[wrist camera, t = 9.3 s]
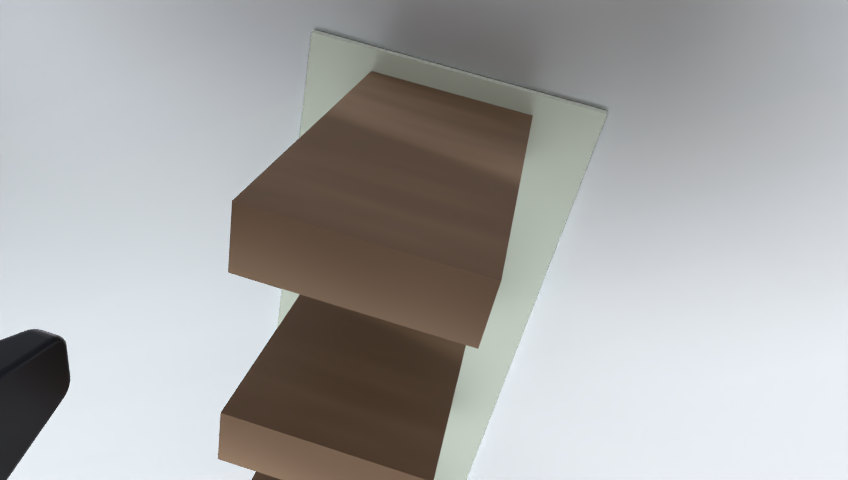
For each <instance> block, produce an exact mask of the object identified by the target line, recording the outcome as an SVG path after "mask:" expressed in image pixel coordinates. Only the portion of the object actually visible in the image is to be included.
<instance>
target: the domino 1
mask: <svg viewBox="0 0 848 480" xmlns="http://www.w3.org/2000/svg"><path fill="white" fill-rule="evenodd" d="M532 117H533V116H532V115H529V114H525V113H522V112H518V111H514V110H511V109H507V108H504V107H500V106H496V105H493V104H489V103H486V102H482V101H478V100H475V99H471V98H468V97H464V96H460V95H457V94H453V93H449V92H446V91H442V90H439V89H435V88H431V87H428V86H424V85H421V84H417V83H413V82H410V81H406V80H403V79H399V78H395V77H392V76H388V75H384V74H381V73H377V72H374V71H371V72H370V73H368V74H367V75H366V76H365V77H364V78H363V79H362V80H361V81H360V82H359V83H358V84H357V85H356V86H355V87H354V88H352V89H351V90H350V91H349V92H348V93H347V94H346V95H345V96H344V97H343V98H342V99H341V100H340V101H339V102H337V103H336V104H335V105H334V106H333V107H332V108H331V109H330V110H329V111H328V112H327V113H326V114H325V115H324V116H323V117H321V118H320V119H319V120H318V121H317V122H316V123H315V124H314V125H313V126H312V127H311V128H310V129H309V130H308V131H306V132H305V133H304V134H303V135H302V136H301V137H300V138H299V139H298V140H297V141H296V142H295V143H294V144H293V145H292V146H290V147H289V148H288V149H287V150H286V151H285V152H284V153H283V154H282V155H281V156H280V157H279V158H278V159H277V160H275V161H274V162H273V163H272V164H271V165H270V166H269V167H268V168H267V169H266V170H265V171H264V172H263V173H262V174H261V175H259V176H258V177H257V178H256V179H255V180H254V181H253V182H252V183H251V184H250V185H249V186H248V187H247V188H246V189H244V190H243V191H242V192H241V193H240V194H239V195H238V196H237V197H236V198H235V199H234V200H233V201H232V213H231V231H230V250H229V268H228V273H232V274H235V275H238V276H242V277H245V278H248V279H251V280H255V281H258V282H261V283H264V284H268V285H271V286H274V287H277V288H281V289H284V290H287V291H291V292H294V293H297V294H300V295H304V296H307V297H310V298H313V299H317V300H320V301H323V302H326V303H330V304H333V305H336V306H340V307H343V308H346V309H349V310H353V311H356V312H359V313H362V314H366V315H369V316H372V317H376V318H379V319H382V320H385V321H389V322H392V323H395V324H398V325H402V326H405V327H408V328H411V329H415V330H418V331H421V332H425V333H428V334H431V335H434V336H438V337H441V338H444V339H447V340H451V341H454V342H457V343H460V344H464V345H467V346H470V347H474V348H477V349H478V348H479V345H480V342H481V339H482V336H483V334H484V331H485V328H486V325H487V322H488V319H489V316H490V313H491V310H492V307H493V304H494V301H495V298H496V295H497V292H498V289H499V286H500V283H501V280H502V275H503V269H504V264H505V259H506V254H507V248H508V243H509V238H510V233H511V227H512V222H513V217H514V212H515V207H516V201H517V196H518V191H519V186H520V180H521V175H522V170H523V165H524V159H525V154H526V149H527V144H528V138H529V133H530V128H531V123H532Z"/></svg>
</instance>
